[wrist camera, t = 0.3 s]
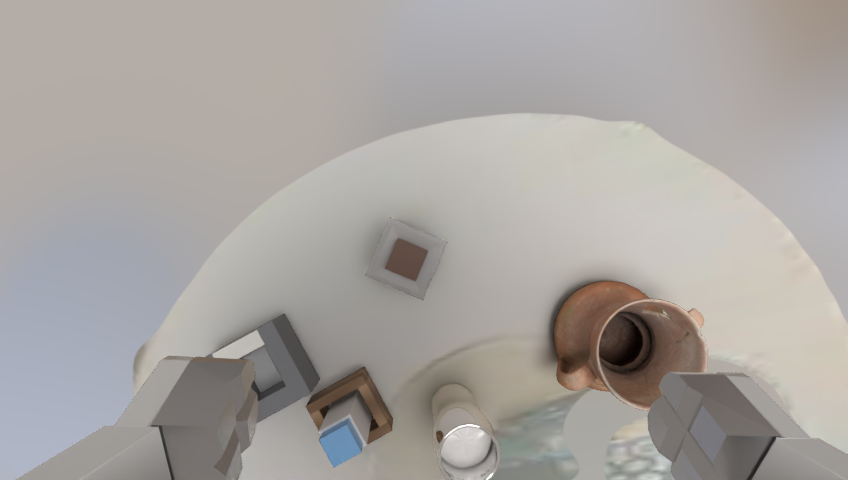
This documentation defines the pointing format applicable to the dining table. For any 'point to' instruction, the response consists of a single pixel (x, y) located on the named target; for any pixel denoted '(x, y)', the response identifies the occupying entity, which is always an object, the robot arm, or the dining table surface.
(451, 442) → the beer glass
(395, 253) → the perfume bottle
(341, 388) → the holster
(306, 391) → the port
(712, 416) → the robot arm
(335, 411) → the plug
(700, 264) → the dining table surface
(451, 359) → the dining table surface
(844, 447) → the dining table surface
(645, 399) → the ceramic jug
